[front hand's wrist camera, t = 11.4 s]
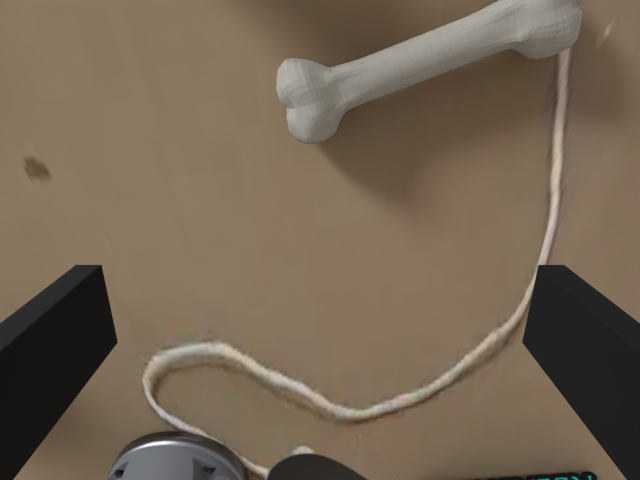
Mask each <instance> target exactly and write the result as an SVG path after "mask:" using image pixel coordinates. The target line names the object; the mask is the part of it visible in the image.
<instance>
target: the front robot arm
mask: <svg viewBox="0 0 640 480" xmlns="http://www.w3.org/2000/svg"><path fill="white" fill-rule="evenodd" d="M117 343H118V342H117V337H116V332H115V327H114V323H113V318H112V313H111V308H110V304H109V299H108V294H107V289H106V285H105V280H104V275H103V270H102V265H75V266H74V267H73V268H71V269H70V270H69V271H68V272H66V273H65V274H64V275H62V276H61V277H60V278H59V279H57V280H56V281H55V282H53V283H52V284H51V285H49V286H48V287H47V288H46V289H44V290H43V291H42V292H40V293H39V294H38V295H36V296H35V297H34V298H33V299H31V300H30V301H29V302H27V303H26V304H25V305H24V306H22V307H21V308H20V309H18V310H17V311H16V312H14V313H13V314H12V315H11V316H9V317H8V318H7V319H5V320H4V321H3V322H2V323H0V480H13V479H14V478H15V477H16V475H17V474H18V473H19V471H20V470H21V469H22V467H23V466H24V465H25V463H26V462H27V461H28V459H29V458H30V457H31V455H32V454H33V453H34V452H35V450H36V449H37V448H38V446H39V445H40V444H41V442H42V441H43V440H44V438H45V437H46V436H47V434H48V433H49V432H50V431H51V429H52V428H53V427H54V425H55V424H56V423H57V421H58V420H59V419H60V417H61V416H62V415H63V413H64V412H65V411H66V410H67V408H68V407H69V406H70V404H71V403H72V402H73V400H74V399H75V398H76V396H77V395H78V394H79V392H80V391H81V390H82V389H83V387H84V386H85V385H86V383H87V382H88V381H89V379H90V378H91V377H92V375H93V374H94V373H95V371H96V370H97V369H98V368H99V366H100V365H101V364H102V362H103V361H104V360H105V358H106V357H107V356H108V354H109V353H110V352H111V350H112V349H113V348H114V346H115V345H116V344H117ZM522 343H523V344H524V345H525V346H526V348H527V349H528V350H529V352H530V353H531V354H532V356H533V357H534V358H535V360H536V361H537V362H538V364H539V365H540V366H541V368H542V369H543V370H544V371H545V373H546V374H547V375H548V377H549V378H550V379H551V381H552V382H553V383H554V385H555V386H556V387H557V389H558V390H559V391H560V392H561V394H562V395H563V396H564V398H565V399H566V400H567V402H568V403H569V404H570V406H571V407H572V408H573V410H574V411H575V412H576V413H577V415H578V416H579V417H580V419H581V420H582V421H583V423H584V424H585V425H586V427H587V428H588V429H589V431H590V432H591V433H592V434H593V436H594V437H595V438H596V440H597V441H598V442H599V444H600V445H601V446H602V448H603V449H604V450H605V452H606V453H607V454H608V455H609V457H610V458H611V459H612V461H613V462H614V463H615V465H616V466H617V467H618V469H619V470H620V471H621V473H622V474H623V475H624V477H625V478H626V479H627V480H640V323H638V322H637V321H636V320H635V319H633V318H632V317H631V316H629V315H628V314H627V313H626V312H624V311H623V310H622V309H620V308H619V307H618V306H616V305H615V304H614V303H613V302H611V301H610V300H609V299H607V298H606V297H605V296H604V295H602V294H601V293H600V292H598V291H597V290H596V289H594V288H593V287H592V286H591V285H589V284H588V283H587V282H585V281H584V280H583V279H581V278H580V277H579V276H578V275H576V274H575V273H574V272H572V271H571V270H570V269H569V268H567V267H566V266H565V265H538V270H537V275H536V280H535V285H534V289H533V294H532V299H531V304H530V308H529V313H528V318H527V323H526V327H525V332H524V337H523V342H522ZM107 480H249V478H248V475H247V472H246V470H245V468H244V466H243V465H242V463H241V462H240V461H239V459H238V458H237V457H236V456H235V455H234V454H233V453H232V452H230V451H229V450H228V449H227V448H225V447H224V446H222V445H220V444H219V443H217V442H215V441H213V440H210V439H208V438H205V437H202V436H199V435H195V434H191V433H184V432H160V433H154V434H150V435H146V436H144V437H141V438H139V439H137V440H135V441H133V442H132V443H130V444H129V445H128V446H127V447H125V448H124V449H123V451H122V452H121V453H120V455H119V456H118V458H117V460H116V462H115V464H114V465H113V467H112V469H111V471H110V473H109V476H108V479H107Z"/></svg>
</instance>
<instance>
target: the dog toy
mask: <svg viewBox="0 0 640 480" xmlns="http://www.w3.org/2000/svg"><path fill="white" fill-rule="evenodd" d="M582 17H583V11H582V9H581V7H580V6H579V4H578V3H577V2H576V0H499V1H497V2H495V3H493V4H491V5H489V6H487V7H485V8H483V9H482V10H480V11H477V12H475V13H473V14H471V15H469V16H467V17H464V18H462V19H459V20H457V21H454V22H452V23H449V24H447V25H444V26H442V27H439V28H437V29H434V30H432V31H429V32H427V33H424V34H422V35H419V36H417V37H414V38H411V39H409V40H406V41H404V42H401V43H399V44H396V45H394V46H391V47H389V48H386V49H384V50H381V51H379V52H376V53H374V54H371V55H369V56H366V57H363V58H360V59H357V60H354V61H351V62H348V63H344V64H341V65H337V66H334V67H326V66H324V65H322V64H319V63H317V62H314V61H311V60H307V59H299V58H290V59H286V60H285V61H284V62H283V63H282V64H281V66H280V68H279V69H278V72H277V87H276V91H277V94H278V97H279V100H280V102H281V103H282V104H283V105H284V106H285V107H286V109H287V122H288V127H289V130H290V133H291V135H292V136H293V137H294V138H295V139H296V140H298V141H299V142H303V143H307V144H317V143H320V142H323V141H325V140H327V139H329V138H330V137H331V136H333V135H334V133H335V132H336V131H337V128H338V126H339V123H340V121H341V119H342V117H343V115H344V114H345V112H346V111H348V110H350V109H352V108H354V107H356V106H359V105H361V104H364V103H366V102H369V101H372V100H374V99H377V98H379V97H382V96H385V95H387V94H390V93H393V92H395V91H398V90H400V89H403V88H406V87H408V86H411V85H414V84H416V83H419V82H421V81H424V80H427V79H429V78H432V77H434V76H437V75H440V74H442V73H445V72H448V71H450V70H453V69H455V68H458V67H461V66H463V65H466V64H469V63H471V62H474V61H476V60H479V59H482V58H484V57H487V56H490V55H492V54H495V53H498V52H501V51H504V50H508V49H512V50H515V51H517V52H519V53H520V54H521V55H523V56H525V57H526V58H529V59H543V58H547V57H550V56H553V55H556V54H558V53H560V52H561V51H563V50H565V49H567V48H569V47H570V46H572V45H573V44H574V43H575V42H576V40H577V39H578V36H579V32H580V27H581V22H582Z"/></svg>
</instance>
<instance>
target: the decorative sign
mask: <svg viewBox="0 0 640 480" xmlns="http://www.w3.org/2000/svg"><path fill="white" fill-rule="evenodd" d="M476 480H479V479H476ZM487 480H497V479H494V478H490V479H487ZM498 480H524V479H523V478H521V477H504V478H499V479H498ZM526 480H597V476H596V475H595V474H594V473H591V472H584V473H582V477H581V476H580V475H578V474H577V473H567V474H565V473H562V474H552V475H536V476H527V478H526Z"/></svg>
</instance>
